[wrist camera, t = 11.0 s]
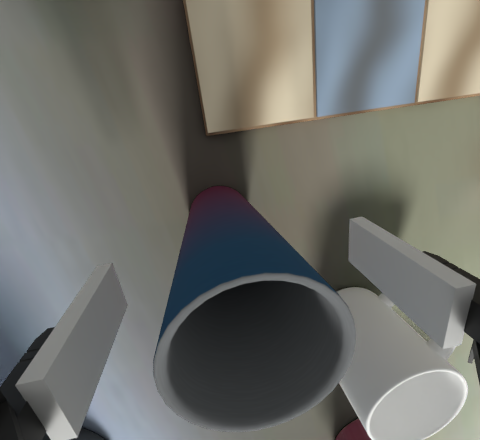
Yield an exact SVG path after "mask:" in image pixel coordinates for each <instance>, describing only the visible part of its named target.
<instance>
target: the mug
mask: <svg viewBox="0 0 480 440" xmlns="http://www.w3.org/2000/svg"><path fill="white" fill-rule="evenodd" d="M336 292H337V293H338V294H339V296H340V297H341V298H342V299H343V301H344V302H345V303H346V304H347V305H348V307H349V310H350V312H351V314H352V316H353V319H354V323H355V329H356V344H355V351H354V354H353V357H352V360H351V364H350V366H349V367H348V369H347V371H346V373H345V375H344V376H343V378H342V379H341V381H340V382H339V384H340V386H341V387H342V389H343V391H344V393H345V395H346V396H347V398H348V400H349V402H350V404H351V405H352V407H353V409H354V411H355V412H356V414H357V416H358V418H359V420H360V421H361V423H362V425H363V427H364V429H365V430H366V432H367V434H368V436H369V437H370V438H371V439H372V440H424V439H426V438H428V437H430V436H432V435H433V434H435V433H437V432H438V431H440V430H441V429H442V428H444V427H445V426H446V425H447V424H448V423H449V422H451V421H452V420H453V419H454V417H455V416H456V415H457V414H458V413H459V411H460V410H461V408H462V407H463V405H464V403H465V401H466V398H467V394H468V385H467V382H466V380H465V378H464V376H463V375H462V374H461V373H460V372H459V371H458V370H457V369H456V368H455V367H453V366H452V365H451V364H450V363H449V362H448V361H447V359H448V358H449V356H450V355H451V354H452V352H453V351H454V349H455V347H456V346H454V347H450V348H446V349H442V348H441V347H440V346H439V345H438V344H437V343H436V342H434V341H433V340H432V339H431V338H430V339H429V340H428V341H426V340H425V339H424V338H423V337H422V336H421V335H419V334H418V333H417V332H416V331H415V330H414V329H413V328H412V327H411V326H410V325H409V324H408V323H407V322H406V321H405V320H404V319H403V318H401V317H400V316H399V315H398V314H397V313H396V312H395V311H394V310H393V309H392V306H393V305H394V303H393V302H392V301H391V300H390V299H389V298H388V297H386V296H385V295H384V294H383V293H381V294H380V295H379V296H377V295H376V294H375V293H373V292H372V291H370V290H368V289H365V288H360V287H350V288H345V289H341V290H339V291H336Z"/></svg>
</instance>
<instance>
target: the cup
mask: <svg viewBox="0 0 480 440" xmlns="http://www.w3.org/2000/svg"><path fill="white" fill-rule="evenodd" d="M355 344H356V329H355V323H354V319H353V316H352V314H351V312H350V310H349V307H348V305H347V304H346V303H345V302H344V301H343V299H342V298H341V297H340V296H339V294H338V293H337V292H336V291H335V290H334V289H333V288H332V287H331V286H330V285H329V284H328V283H327V282H326V281H325V280H324V279H323V278H322V277H321V276H320V275H319V274H318V273H317V272H316V271H315V270H314V269H313V268H312V267H311V266H310V265H309V264H308V263H307V262H306V261H305V260H304V258H303V257H302V256H301V255H300V254H299V253H298V252H297V251H296V250H295V249H294V248H293V247H292V246H291V245H290V244H289V243H288V242H287V241H286V240H285V239H284V238H283V237H282V236H281V235H280V234H279V233H278V232H277V231H276V230H275V229H274V228H273V227H272V226H271V225H270V224H269V223H268V222H267V221H266V220H265V219H264V218H263V217H262V216H261V215H260V213H259V212H258V211H257V210H256V209H255V208H254V207H253V206H252V205H251V204H250V203H249V202H248V201H247V200H246V199H245V198H244V197H243V196H242V195H241V194H240V193H239V192H237V191H236V190H234V189H232V188H230V187H226V186H214V187H210V188H207V189H206V190H204V191H202V192H201V193H200V194H199V195H197V197H196V198H195V199H194V201H193V203H192V205H191V209H190V213H189V217H188V221H187V225H186V229H185V233H184V237H183V241H182V245H181V250H180V254H179V258H178V262H177V266H176V270H175V274H174V278H173V282H172V286H171V290H170V294H169V298H168V303H167V307H166V311H165V315H164V319H163V323H162V327H161V331H160V335H159V339H158V343H157V347H156V351H155V355H154V360H153V363H154V379H155V383H156V386H157V389H158V392H159V394H160V395H161V397H162V399H163V400H164V402H165V403H166V405H167V406H168V407H169V408H170V409H171V410H172V411H174V412H175V413H176V414H177V415H178V416H180V417H181V418H183V419H185V420H186V421H188V422H190V423H192V424H194V425H197V426H200V427H203V428H206V429H210V430H216V431H222V432H246V431H255V430H260V429H264V428H269V427H273V426H276V425H279V424H281V423H284V422H287V421H289V420H292V419H294V418H295V417H297V416H299V415H301V414H303V413H305V412H307V411H308V410H310V409H311V408H312V407H314V406H315V405H317V404H318V403H319V402H321V401H322V400H323V399H324V398H325V397H326V396H327V395H328V394H329V393H330V392H332V391H333V389H334V388H335V387H336V386H337V384H338V383H339V382H340V381H341V379H342V378H343V376H344V375H345V373H346V371H347V369H348V367H349V366H350V364H351V360H352V357H353V354H354V351H355Z"/></svg>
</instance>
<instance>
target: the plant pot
mask: <svg viewBox="0 0 480 440" xmlns="http://www.w3.org/2000/svg"><path fill="white" fill-rule="evenodd" d="M336 440H372V439H371V438H370V437H369V436H368V434H367V432H366V430H365V429H364V427H363V425H362V423H361V421H360V420H359V419H356V420H355V421H353V422H351V423H350V424H348V425H347V426H346V427H344V428H343V429H342V430H341V431H340V433H339V434H338V436H337V437H336Z"/></svg>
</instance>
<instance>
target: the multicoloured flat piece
mask: <svg viewBox="0 0 480 440" xmlns="http://www.w3.org/2000/svg"><path fill="white" fill-rule="evenodd" d="M183 4H184V10H185V16H186V21H187V27H188V33H189V39H190V45H191V51H192V56H193V62H194V68H195V74H196V80H197V86H198V91H199V97H200V103H201V109H202V115H203V121H204V126H205V132H206V136H210V135H217V134H224V133H230V132H237V131H244V130H250V129H257V128H264V127H271V126H277V125H284V124H291V123H298V122H304V121H311V120H318V119H325V118H331V117H338V116H345V115H352V114H358V113H365V112H372V111H379V110H385V109H392V108H399V107H406V106H412V105H419V104H426V103H433V102H439V101H446V100H453V99H460V98H466V97H473V96H480V0H183Z"/></svg>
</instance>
